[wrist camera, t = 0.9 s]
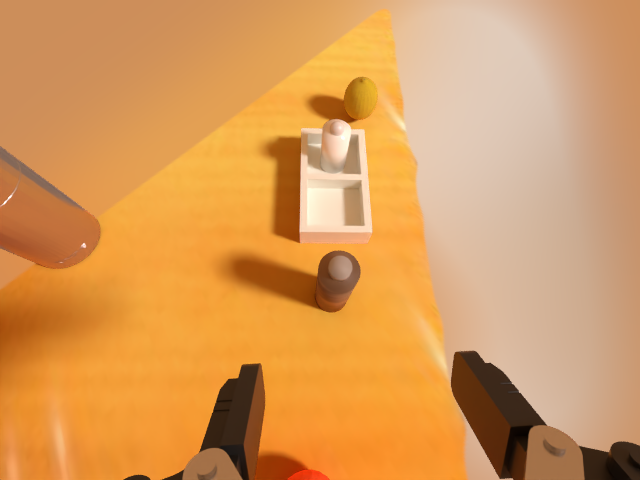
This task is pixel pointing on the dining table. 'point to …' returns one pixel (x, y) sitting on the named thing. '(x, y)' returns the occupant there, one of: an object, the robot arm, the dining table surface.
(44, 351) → the dining table surface
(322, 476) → the clementine
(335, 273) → the pepper mill
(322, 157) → the salt shaker
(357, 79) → the lemon
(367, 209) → the caddy
